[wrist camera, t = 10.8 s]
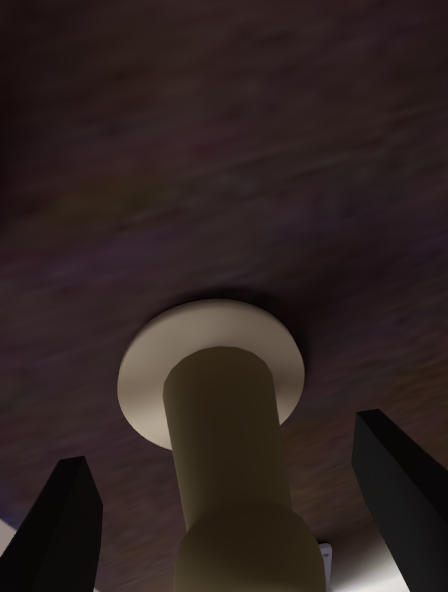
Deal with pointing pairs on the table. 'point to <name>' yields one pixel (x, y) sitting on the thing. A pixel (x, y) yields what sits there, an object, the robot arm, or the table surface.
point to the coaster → (196, 336)
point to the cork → (235, 480)
